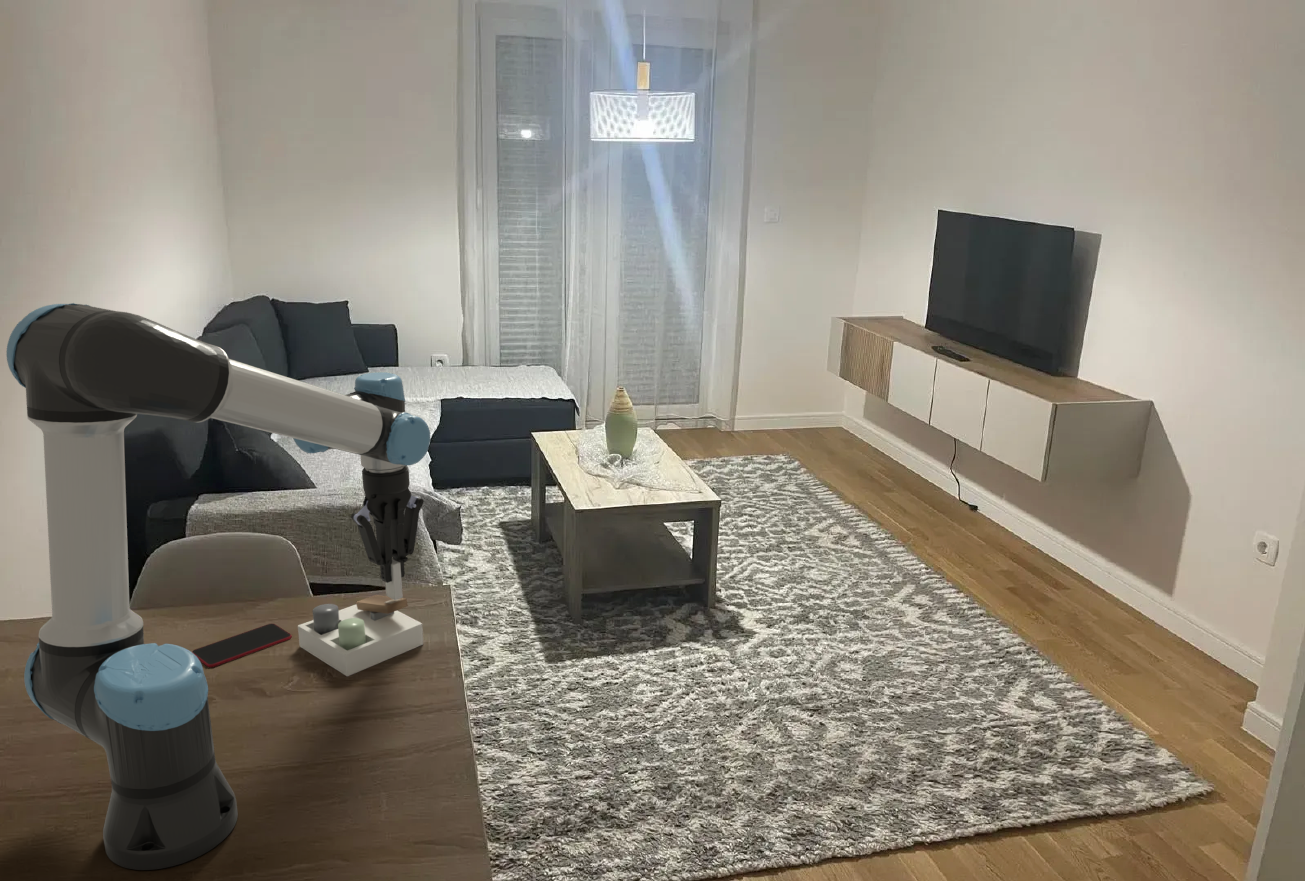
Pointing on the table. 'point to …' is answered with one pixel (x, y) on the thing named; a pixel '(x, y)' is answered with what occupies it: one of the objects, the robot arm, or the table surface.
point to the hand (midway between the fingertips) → (394, 596)
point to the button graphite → (325, 618)
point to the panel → (382, 640)
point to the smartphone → (241, 645)
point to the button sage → (351, 633)
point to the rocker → (381, 604)
